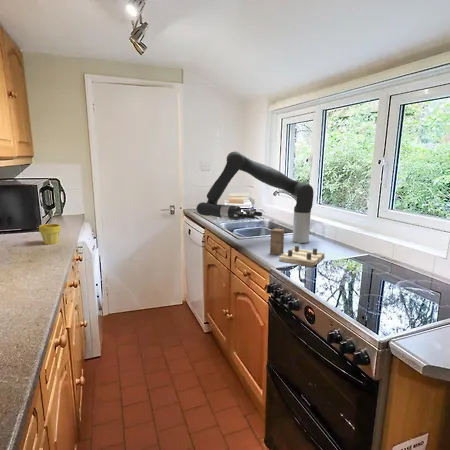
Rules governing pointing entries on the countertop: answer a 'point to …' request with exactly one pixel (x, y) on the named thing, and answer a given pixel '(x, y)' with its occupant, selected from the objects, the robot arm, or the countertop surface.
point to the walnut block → (277, 241)
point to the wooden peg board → (302, 256)
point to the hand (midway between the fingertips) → (258, 215)
